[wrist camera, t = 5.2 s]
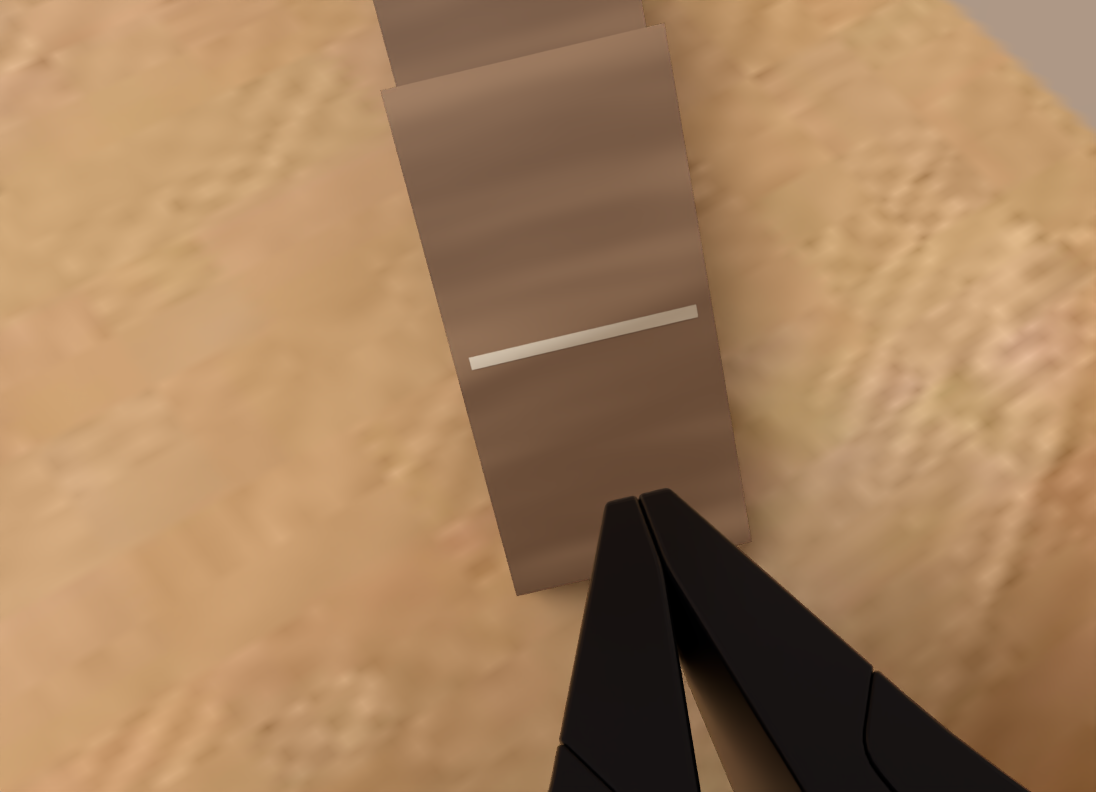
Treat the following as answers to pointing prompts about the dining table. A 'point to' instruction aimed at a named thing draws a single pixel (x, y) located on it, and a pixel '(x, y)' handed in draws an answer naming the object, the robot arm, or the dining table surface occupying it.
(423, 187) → the domino
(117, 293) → the dining table surface
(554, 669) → the dining table surface
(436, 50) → the domino
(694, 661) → the robot arm
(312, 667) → the dining table surface
